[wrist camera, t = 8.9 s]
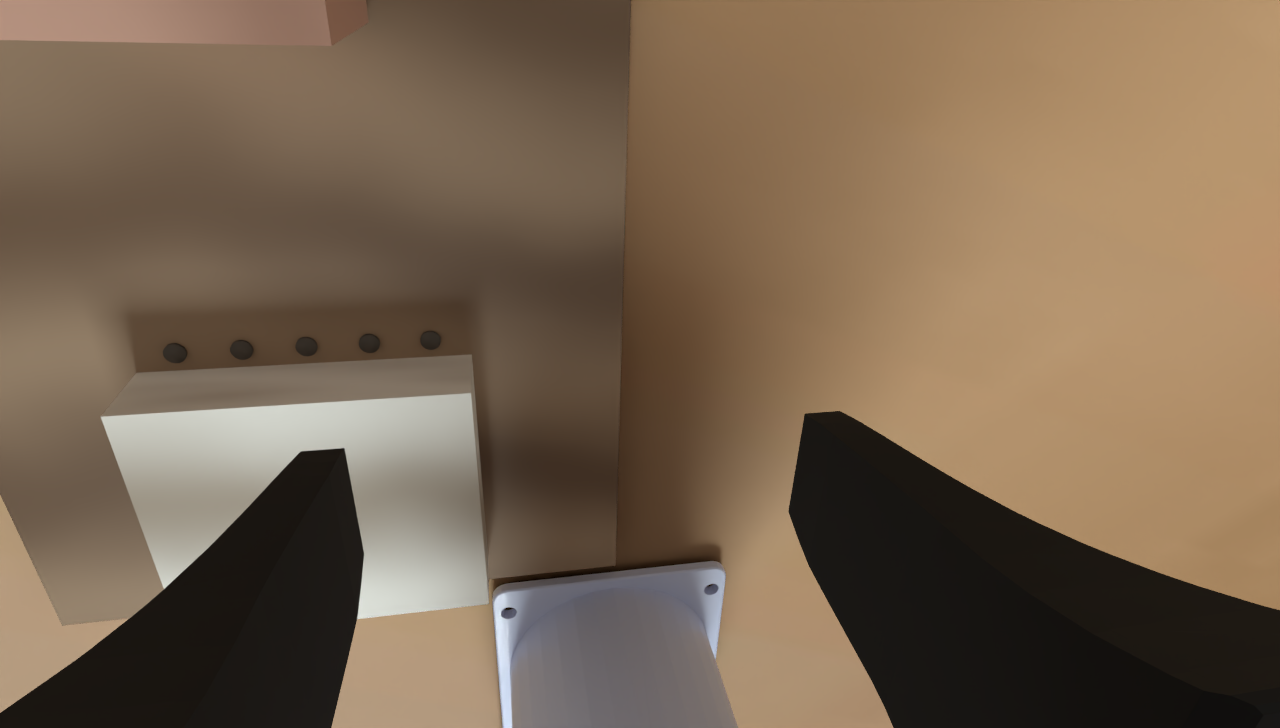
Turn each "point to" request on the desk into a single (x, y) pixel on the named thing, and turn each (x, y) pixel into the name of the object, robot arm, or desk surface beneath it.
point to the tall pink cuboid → (183, 21)
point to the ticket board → (317, 295)
